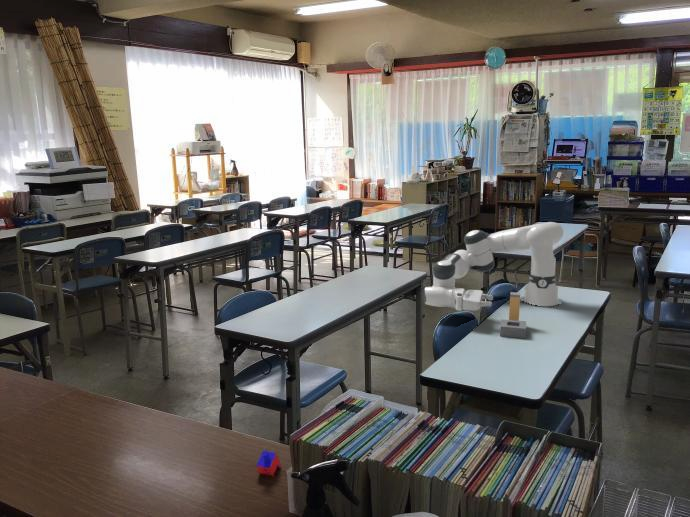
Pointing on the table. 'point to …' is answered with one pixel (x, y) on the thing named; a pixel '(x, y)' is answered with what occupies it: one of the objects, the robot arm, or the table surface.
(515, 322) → the grey square block
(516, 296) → the plug
